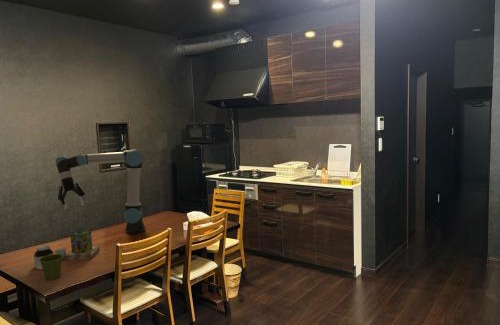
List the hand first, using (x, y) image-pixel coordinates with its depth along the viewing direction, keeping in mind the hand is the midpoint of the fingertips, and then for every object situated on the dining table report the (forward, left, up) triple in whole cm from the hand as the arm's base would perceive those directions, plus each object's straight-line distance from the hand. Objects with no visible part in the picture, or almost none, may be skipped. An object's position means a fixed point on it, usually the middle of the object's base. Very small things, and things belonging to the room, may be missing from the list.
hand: (74, 207), depth 265 cm
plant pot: (-9, +61, -27) cm, 68 cm away
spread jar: (+4, +42, -27) cm, 50 cm away
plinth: (-13, +26, -27) cm, 40 cm away
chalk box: (-12, +27, -24) cm, 38 cm away
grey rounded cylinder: (-1, +30, -27) cm, 40 cm away
